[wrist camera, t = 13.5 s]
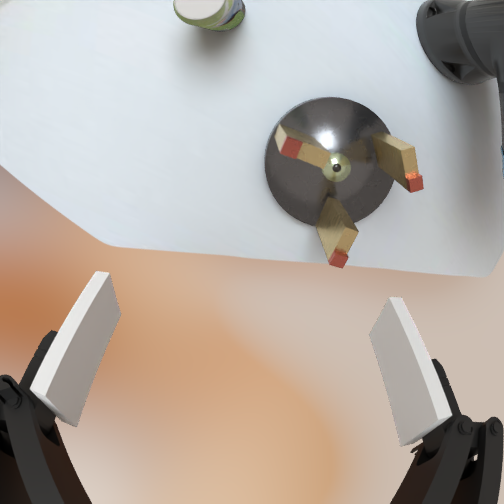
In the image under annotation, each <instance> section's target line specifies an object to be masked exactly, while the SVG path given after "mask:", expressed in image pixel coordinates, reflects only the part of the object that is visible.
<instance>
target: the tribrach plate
mask: <svg viewBox="0 0 504 504" xmlns="http://www.w3.org/2000/svg"><path fill="white" fill-rule="evenodd" d="M279 124H281V125H284V126H287V127H289V128H292V129H295V130H297V131H300V132H302V133H304V134H307V135H309V136H312V137H314V138H315V139H316V140H317V141H318V142H320V143H321V144H322V145H323V146H324V147H325V148H326V149H327V150H328V151H329V152H330V153H331V155H330V157H329V159H328V161H327V163H326V166H325V168H324V169H322V168H320V167H318V166H315V165H313V164H310V163H308V162H305V161H303V160H300V159H298V158H296V159H293V158H291V157H288V156H286V155H283V154H280V152H279V149H278V146H277V143H276V140H275V137H274V135H275V133H276V131H277V128H278V126H279ZM378 132H384V133H387V134H389V135H391V134H390V132H389V130H388V129H387V127H386V125H385V124H384V123H383V121H382V120H381V119H380V118H379V117H378V116H377V115H376V114H375V113H374V112H372V111H371V110H370V109H368V108H367V107H365V106H363V105H361V104H359V103H357V102H354V101H352V100H348V99H343V98H337V97H321V98H315V99H311V100H308V101H305V102H303V103H301V104H299V105H297V106H295V107H293V108H292V109H291V110H289V111H288V112H287V113H286V114H285V115H284V116H283V117H282V118H281V119H280V120H279V121H278V123H277V124H276V125H275V127H274V129H273V130H272V132H271V134H270V137H269V139H268V142H267V146H266V150H265V172H266V177H267V181H268V184H269V187H270V190H271V192H272V194H273V196H274V197H275V199H276V200H277V202H278V203H279V204H280V205H281V207H282V208H283V209H284V210H285V211H287V212H288V213H289V214H290V215H292V216H293V217H294V218H296V219H298V220H300V221H302V222H304V223H307V224H310V225H313V226H316V223H317V221H318V218H319V216H320V214H321V212H322V210H323V207H324V205H325V203H326V201H327V198H328V197H331V198H334V199H337V200H339V201H340V202H341V204H342V205H343V207H344V208H345V210H346V212H347V213H348V215H349V216H350V218H351V220H352V221H353V223H355V222H357V221H359V220H361V219H363V218H365V217H366V216H368V215H369V214H371V213H372V212H373V211H374V210H375V209H376V208H377V207H378V206H379V205H380V204H381V203H382V202H383V200H384V199H385V198H386V196H387V195H388V193H389V191H390V189H391V187H392V184H393V181H394V179H393V178H392V177H391V176H390V175H388V174H387V173H386V172H385V171H383V170H382V169H381V168H379V167H378V163H377V158H376V154H375V150H374V146H373V141H372V138H371V134H374V133H378Z"/></svg>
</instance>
